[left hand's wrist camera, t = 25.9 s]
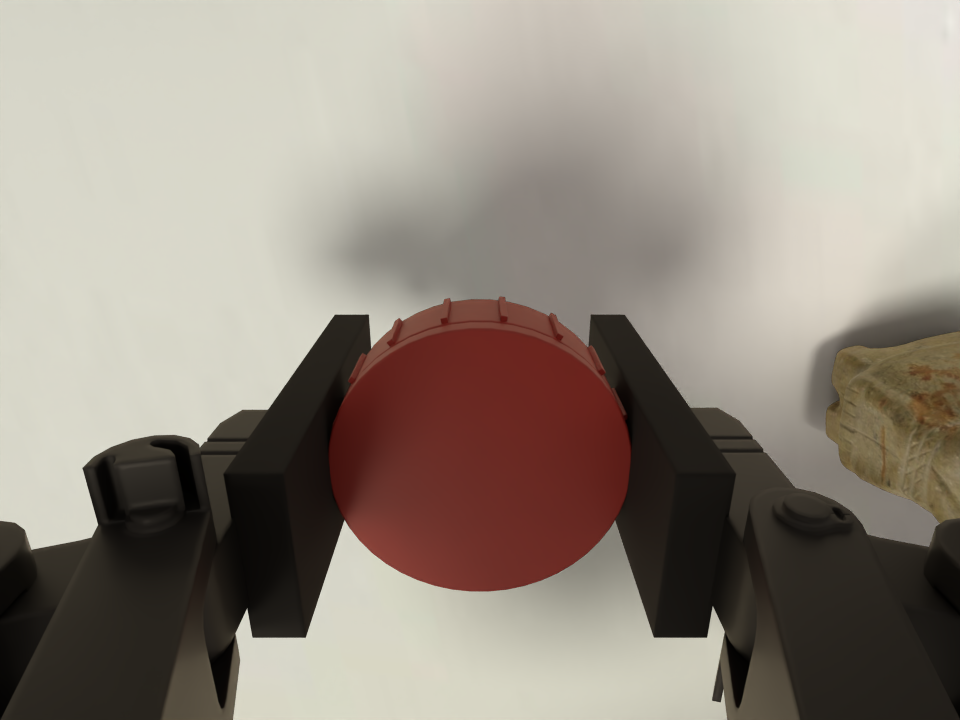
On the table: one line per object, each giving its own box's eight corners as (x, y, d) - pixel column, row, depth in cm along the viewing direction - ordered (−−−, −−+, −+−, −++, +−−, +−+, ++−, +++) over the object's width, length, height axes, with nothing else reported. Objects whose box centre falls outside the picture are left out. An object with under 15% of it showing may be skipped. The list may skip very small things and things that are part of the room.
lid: (556, 565, 13) (566, 625, 11) (314, 498, 12) (290, 552, 11) (662, 348, 11) (690, 385, 10) (384, 254, 11) (369, 279, 9)
